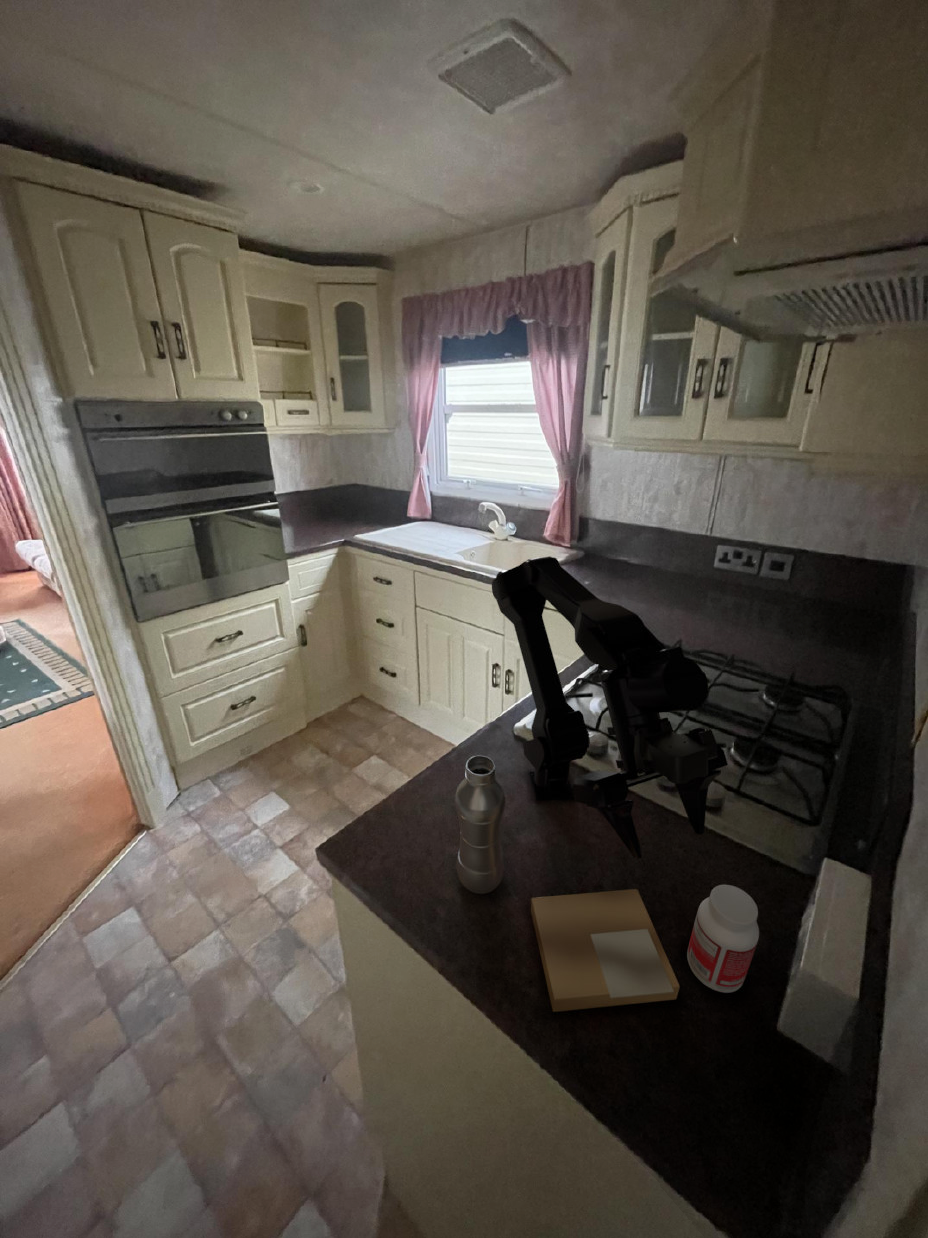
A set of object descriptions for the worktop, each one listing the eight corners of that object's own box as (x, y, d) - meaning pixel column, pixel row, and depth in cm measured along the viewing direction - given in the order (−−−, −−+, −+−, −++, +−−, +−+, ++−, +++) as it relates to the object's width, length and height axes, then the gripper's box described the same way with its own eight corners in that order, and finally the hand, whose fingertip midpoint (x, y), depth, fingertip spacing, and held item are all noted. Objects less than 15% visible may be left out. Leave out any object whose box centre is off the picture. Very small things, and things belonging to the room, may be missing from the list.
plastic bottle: (468, 908, 67) (467, 791, 59) (449, 868, 73) (445, 755, 64) (512, 890, 69) (517, 775, 61) (490, 852, 75) (491, 742, 67)
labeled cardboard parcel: (530, 910, 67) (531, 896, 66) (634, 901, 68) (637, 887, 67) (554, 1017, 56) (555, 1003, 54) (678, 1004, 57) (682, 990, 56)
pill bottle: (746, 959, 61) (769, 895, 56) (739, 1006, 56) (763, 941, 52) (691, 931, 64) (708, 869, 59) (680, 974, 59) (698, 911, 55)
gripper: (607, 732, 52) (649, 892, 50) (744, 693, 58) (786, 834, 56) (556, 732, 63) (589, 865, 60) (676, 699, 69) (710, 818, 66)
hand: (669, 845), depth 60 cm, fingers open, 9 cm apart
